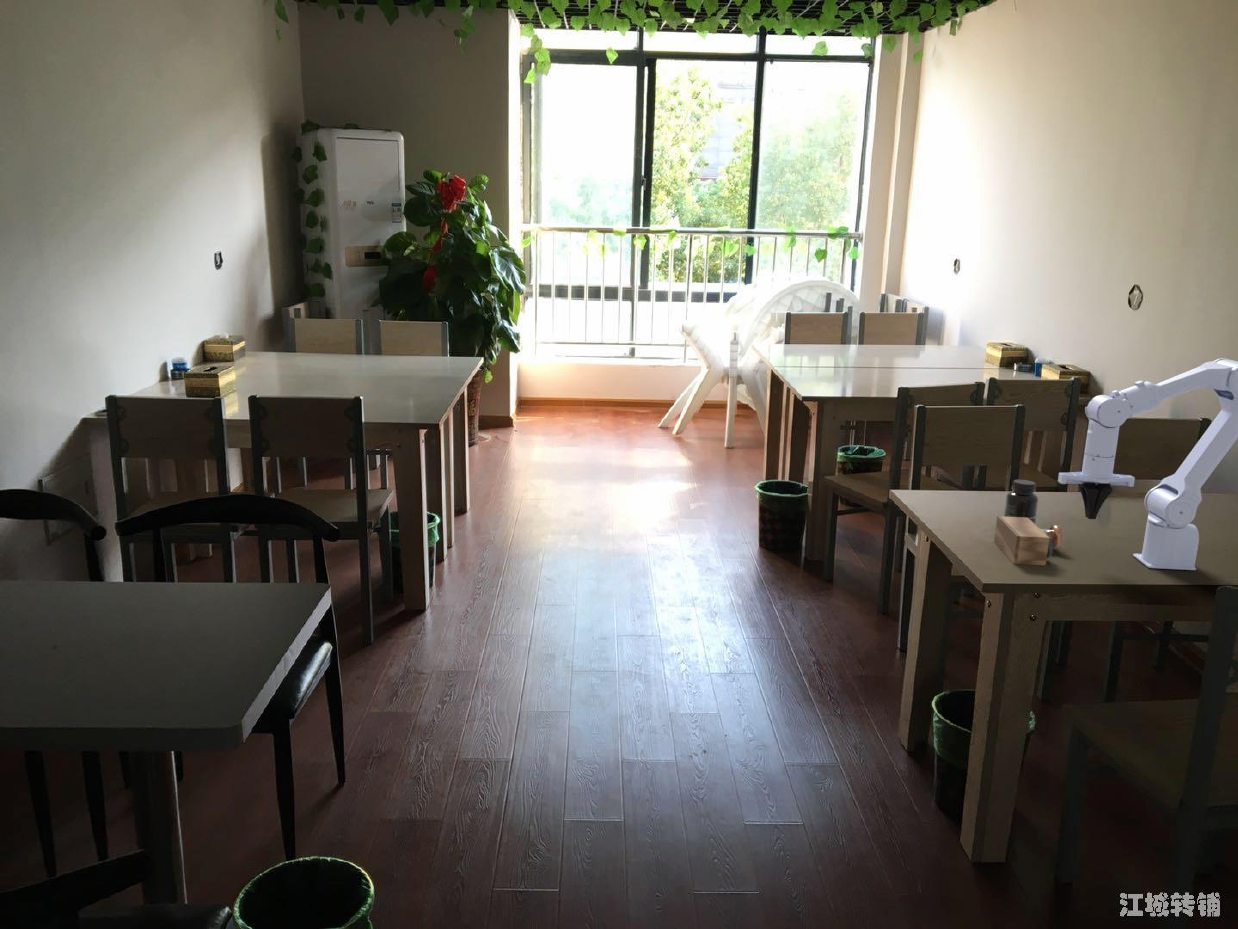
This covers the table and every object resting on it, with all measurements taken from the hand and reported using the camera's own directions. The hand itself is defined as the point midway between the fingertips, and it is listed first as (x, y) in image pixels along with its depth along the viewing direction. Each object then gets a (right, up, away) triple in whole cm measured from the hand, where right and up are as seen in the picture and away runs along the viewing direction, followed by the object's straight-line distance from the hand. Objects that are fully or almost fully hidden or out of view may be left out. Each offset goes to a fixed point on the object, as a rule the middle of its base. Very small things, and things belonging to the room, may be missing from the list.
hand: (1090, 517), depth 205 cm
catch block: (-13, -8, +6) cm, 16 cm away
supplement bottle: (-7, -5, +20) cm, 22 cm away
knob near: (-12, -8, +2) cm, 14 cm away
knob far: (-7, -6, +9) cm, 13 cm away
